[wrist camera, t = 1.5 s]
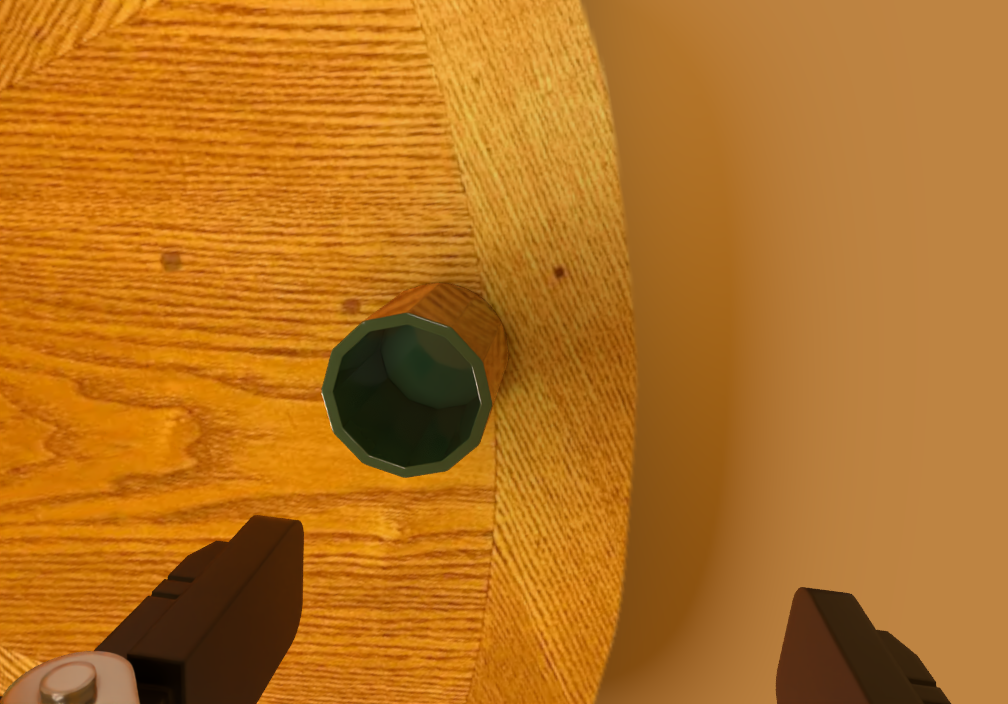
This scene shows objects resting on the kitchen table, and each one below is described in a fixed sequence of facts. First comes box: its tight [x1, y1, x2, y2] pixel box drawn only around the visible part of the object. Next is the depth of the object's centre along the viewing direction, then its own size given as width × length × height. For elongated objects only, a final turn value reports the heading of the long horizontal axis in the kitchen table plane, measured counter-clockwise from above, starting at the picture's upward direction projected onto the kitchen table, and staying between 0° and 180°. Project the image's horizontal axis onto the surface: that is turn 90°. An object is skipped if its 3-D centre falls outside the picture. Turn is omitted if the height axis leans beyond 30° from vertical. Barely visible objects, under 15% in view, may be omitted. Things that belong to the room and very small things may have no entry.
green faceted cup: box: [322, 283, 509, 478], centre depth 27 cm, size 6×6×6 cm
